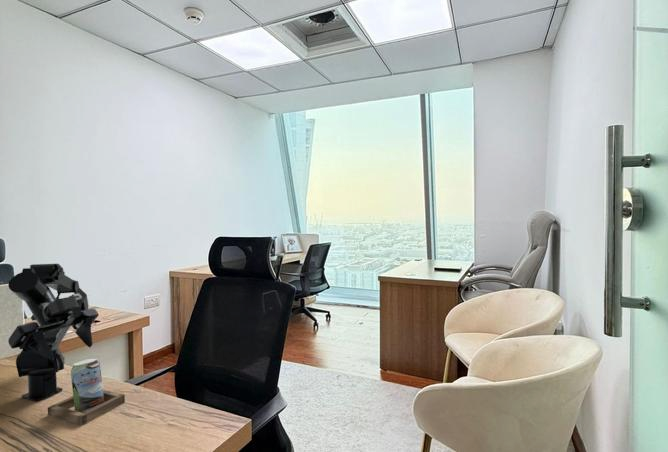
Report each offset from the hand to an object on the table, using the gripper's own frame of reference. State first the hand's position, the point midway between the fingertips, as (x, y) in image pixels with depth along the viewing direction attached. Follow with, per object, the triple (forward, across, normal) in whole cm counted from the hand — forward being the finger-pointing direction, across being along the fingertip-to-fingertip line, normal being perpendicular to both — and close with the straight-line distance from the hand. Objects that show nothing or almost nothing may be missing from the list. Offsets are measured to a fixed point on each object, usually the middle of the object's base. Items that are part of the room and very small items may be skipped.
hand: (73, 352), depth 89 cm
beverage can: (+13, 0, +6) cm, 15 cm away
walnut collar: (+13, 0, +6) cm, 15 cm away
